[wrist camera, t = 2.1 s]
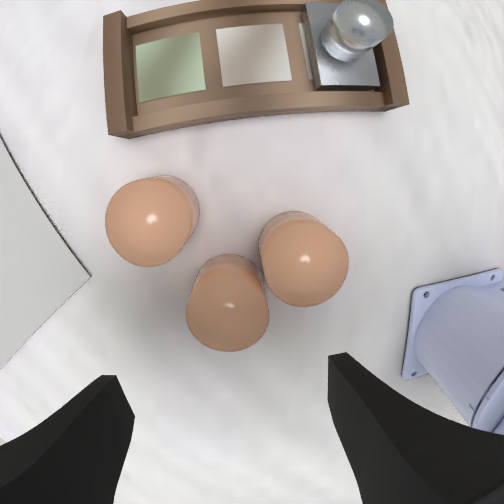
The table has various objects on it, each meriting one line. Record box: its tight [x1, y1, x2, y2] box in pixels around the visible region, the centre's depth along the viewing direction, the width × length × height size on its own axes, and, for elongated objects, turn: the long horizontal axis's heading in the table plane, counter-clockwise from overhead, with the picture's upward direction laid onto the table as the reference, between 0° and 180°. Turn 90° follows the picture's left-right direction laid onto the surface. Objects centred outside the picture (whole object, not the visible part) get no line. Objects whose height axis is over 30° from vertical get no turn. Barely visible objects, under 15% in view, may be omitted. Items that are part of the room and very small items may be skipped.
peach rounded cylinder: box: [186, 254, 269, 352], centre depth 17 cm, size 4×4×4 cm
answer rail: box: [103, 0, 409, 139], centre depth 13 cm, size 15×7×3 cm, turn 97°
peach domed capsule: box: [259, 211, 349, 307], centre depth 16 cm, size 4×4×4 cm
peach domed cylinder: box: [105, 176, 199, 267], centre depth 15 cm, size 4×4×4 cm
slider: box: [301, 0, 394, 90], centre depth 11 cm, size 3×5×5 cm, turn 7°
